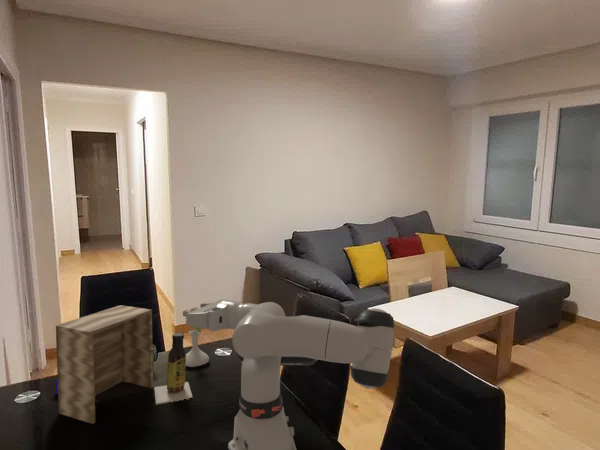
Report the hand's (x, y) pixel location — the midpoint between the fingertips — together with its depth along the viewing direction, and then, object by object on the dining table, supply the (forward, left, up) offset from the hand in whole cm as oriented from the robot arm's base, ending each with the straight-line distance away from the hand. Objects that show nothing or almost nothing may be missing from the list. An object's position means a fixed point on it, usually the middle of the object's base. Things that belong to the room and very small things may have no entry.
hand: (193, 309), depth 136 cm
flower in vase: (+29, -5, -32) cm, 44 cm away
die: (+22, +41, -32) cm, 57 cm away
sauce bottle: (+9, +5, -31) cm, 33 cm away
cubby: (+11, +27, -32) cm, 43 cm away
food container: (+32, +15, -32) cm, 48 cm away
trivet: (+7, +6, -32) cm, 33 cm away
